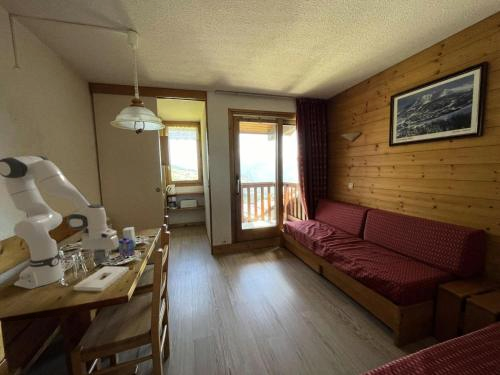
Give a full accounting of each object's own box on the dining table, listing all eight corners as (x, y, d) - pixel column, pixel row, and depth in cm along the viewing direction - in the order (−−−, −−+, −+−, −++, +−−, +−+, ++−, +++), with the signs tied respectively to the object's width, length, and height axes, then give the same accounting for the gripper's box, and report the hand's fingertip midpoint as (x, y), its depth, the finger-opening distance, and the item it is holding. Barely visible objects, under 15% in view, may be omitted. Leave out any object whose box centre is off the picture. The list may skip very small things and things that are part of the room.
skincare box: (132, 248, 167) (131, 229, 165) (123, 249, 165) (121, 230, 163) (136, 244, 175) (134, 226, 173) (127, 245, 173) (125, 227, 172)
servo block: (92, 265, 117) (90, 252, 116) (105, 257, 127) (104, 245, 126) (98, 265, 117) (97, 252, 116) (112, 257, 127) (110, 245, 126)
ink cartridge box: (119, 256, 154) (117, 236, 152) (126, 253, 159) (124, 234, 157) (128, 258, 150) (126, 238, 148) (135, 255, 155) (133, 236, 153)
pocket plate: (73, 290, 113) (73, 286, 113) (105, 269, 135) (104, 266, 135) (101, 291, 112) (101, 287, 112) (128, 270, 134) (128, 266, 133)
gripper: (76, 235, 118) (80, 258, 119) (111, 234, 116) (114, 258, 118) (86, 231, 124) (89, 253, 126) (119, 231, 122) (122, 253, 124)
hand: (101, 256), depth 122 cm, fingers closed on servo block, 4 cm apart
